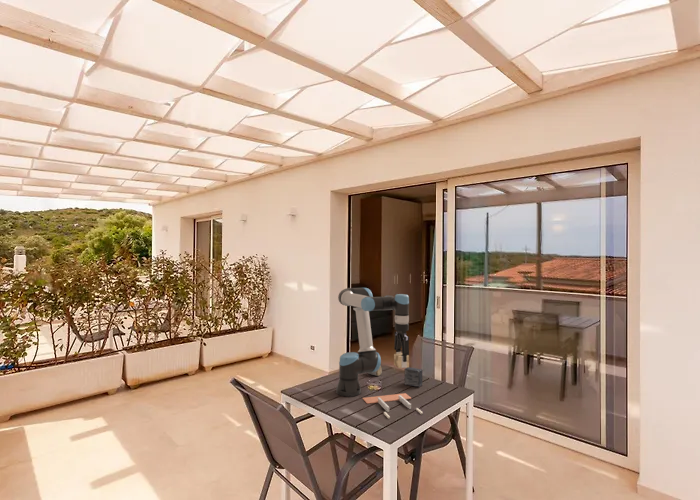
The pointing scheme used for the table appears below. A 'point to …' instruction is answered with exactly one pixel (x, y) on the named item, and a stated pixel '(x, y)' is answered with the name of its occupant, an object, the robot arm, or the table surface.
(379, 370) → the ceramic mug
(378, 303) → the robot arm
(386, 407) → the guide rails
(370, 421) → the table surface
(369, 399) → the mat
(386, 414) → the strips
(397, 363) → the maple block
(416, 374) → the small box
